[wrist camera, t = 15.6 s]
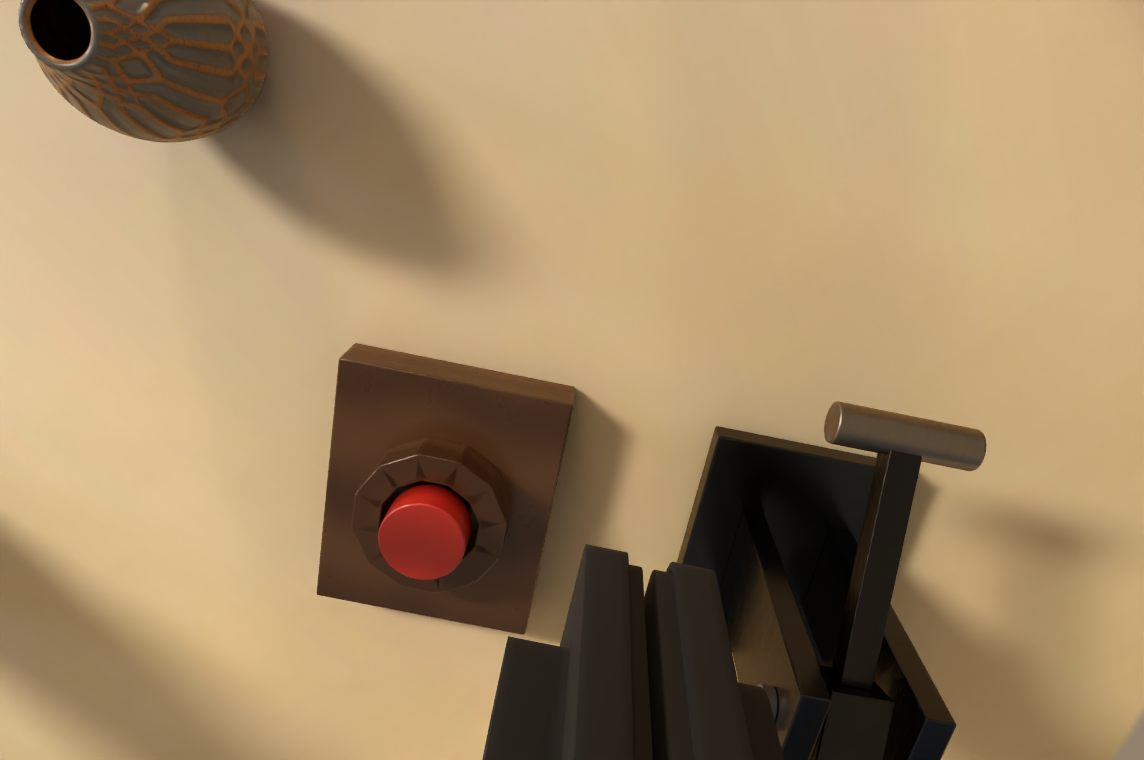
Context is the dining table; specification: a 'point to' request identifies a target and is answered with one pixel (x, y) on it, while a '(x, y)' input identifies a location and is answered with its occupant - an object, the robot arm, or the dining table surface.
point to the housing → (442, 480)
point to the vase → (151, 61)
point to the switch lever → (879, 565)
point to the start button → (425, 532)
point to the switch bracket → (800, 584)
